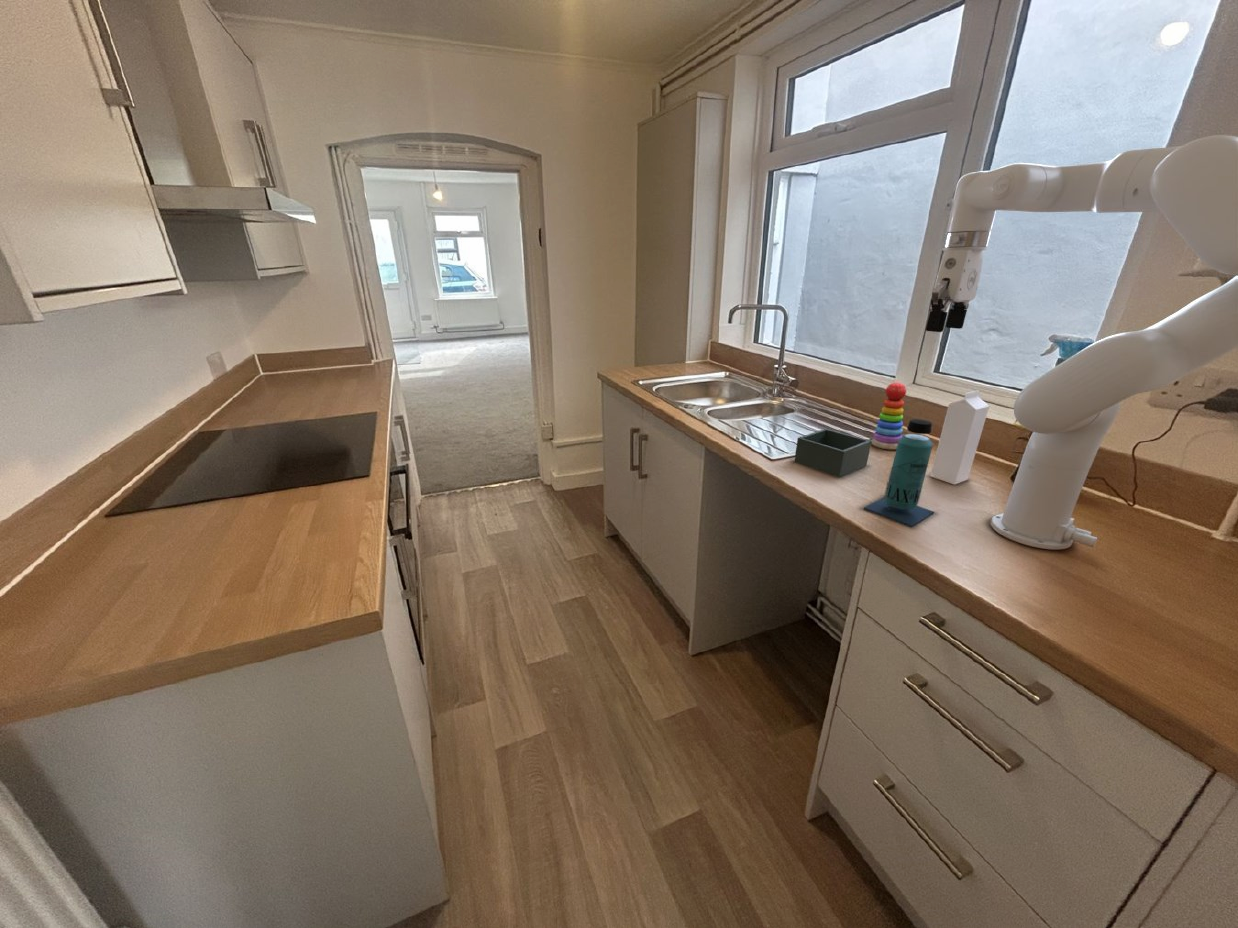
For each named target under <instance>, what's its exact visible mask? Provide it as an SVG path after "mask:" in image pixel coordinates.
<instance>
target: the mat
mask: <svg viewBox="0 0 1238 928" xmlns="http://www.w3.org/2000/svg"><path fill="white" fill-rule="evenodd" d="M884 498H885V496H883V497H881V498H879V499H877V500H875V501H873V502H872V503H870V504H868V505H866V506H864V508H863V509H864V510H865V511H868V512H871V513H873V514H876V515H879V516H881V517H883V518H886V519H888V520H891V521H894V522H897V523H899V524H902V525H904V526H907V527H910V528H913V527H915V526H916V525H918V524H919V523H921V522H922V521H924V520H926V519H927V518H928V517H930V516H932V515H933V514H935V511H934V510H930V509H927V508H924V507H921V506H919V505H917V506H916V508H914V509H912V510H903V509H898V508H894V507H892V506H889V505H888V504H886V503H885V499H884Z"/></svg>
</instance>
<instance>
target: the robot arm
mask: <svg viewBox="0 0 1238 928" xmlns="http://www.w3.org/2000/svg"><path fill="white" fill-rule="evenodd" d="M997 211H1003V212H1022V213H1023V212H1024V213H1072V212H1077V213H1079V212H1080V213H1081V212H1094V213H1097V214H1107V213H1109V214H1113V213H1158V212H1159V213H1162V215H1163V216H1164V218H1165V219H1166V220H1167V221H1168V223H1169V224H1170V226H1172V228H1173V229H1174V230H1175V231H1176V232H1177V233H1178V235H1179V236H1180V237H1181V238H1182V240H1184V242H1185V243H1186V244H1187V245H1188V247H1189V248H1190V249H1191V250H1192V251H1193V253H1194V254H1195V255H1196V256H1197V257H1198V259H1200V261H1201V262H1203V264H1204V265H1206V266H1207V267H1208V268H1210V269H1212V270H1214V271H1215V272H1217V273H1220V274H1223V275H1228V276H1234V277H1232V278H1231V279H1230V280H1228V281H1227V282H1226V283H1224V284H1222V285H1221V286H1219V287H1217V288H1215V289H1213V290H1211V291H1209V292H1207V293H1206V294H1204V295H1202V296H1200V297H1198V298H1196V299H1194V300H1193V301H1191V302H1189V303H1188V304H1187V305H1186V306H1184V307H1182V308H1181V309H1179V310H1178V311H1176V312H1174V313H1173V314H1171V315H1169V316H1167V317H1166V318H1164V319H1162V320H1160V321H1158V322H1157V323H1155V324H1153V325H1151V326H1148V327H1147V328H1143V329H1140V330H1134V331H1127V332H1125V331H1124V332H1120V333H1116V334H1113V335H1110V336H1109V335H1108V336H1106V337H1104V338H1102V339H1100V340H1097V341H1095V342H1093V343H1091V344H1090V345H1088V346H1086V347H1084V348H1083V349H1081V350H1080V351H1078V352H1076V353H1075V354H1073V355H1072V356H1070V357H1069V358H1067V359H1065V360H1064V361H1062V362H1061V363H1059V364H1057V365H1056V366H1054V367H1053V368H1051V369H1050V370H1048V371H1047V372H1045V373H1043V374H1041V375H1040V376H1039V377H1037V378H1036V379H1034V380H1032V381H1031V382H1030V383H1028V384H1027V385H1026V386H1024V388H1022V389H1021V391H1020V392H1019V394H1018V395H1017V396H1016V398H1015V401H1014V404H1013V414H1014V418H1015V420H1016V421H1017V423H1018V424H1019V425H1020V426H1022V427H1023V428H1024V429H1026V430H1027V431H1030V432H1032V433H1031V434H1030V438H1029V439H1028V442H1027V444H1026V447H1025V450H1024V452H1023V455H1022V458H1021V461H1020V464H1019V466H1018V470H1017V473H1016V476H1015V478H1014V481H1013V485H1012V487H1011V490H1010V493H1009V497H1008V499H1007V502H1006V506H1005V508H1004V511H1003V512H1002V513H998V514H995V515H994V516H992V518H991V520H990V526H991V528H992V529H993V530H994V531H996V533H998V534H999V535H1001V536H1003V537H1005V538H1007V539H1008V540H1010V541H1014V542H1016V543H1019V544H1022V545H1024V546H1028V547H1033V548H1036V549H1037V548H1038V549H1044V550H1053V551H1055V550H1056V551H1057V550H1065V549H1068V548H1070V547H1071V546H1072V545H1073V543H1074V542H1076V543H1079V544H1081V545H1085V546H1087V547H1090V548H1094V547H1095V545H1096V543H1097V541H1098V537H1096V536H1094V535H1092V533H1093V532H1092V531H1090V530H1086V529H1081V528H1078V527H1076V525H1074V521H1075V518H1073V517H1072V514H1073V512H1074V510H1075V508H1076V505H1077V502H1078V499H1079V497H1080V494H1081V492H1082V490H1083V486H1084V484H1085V482H1086V480H1087V477H1088V474H1089V472H1090V470H1091V468H1092V465H1093V463H1094V461H1095V458H1096V455H1097V453H1098V451H1099V449H1100V446H1101V444H1102V443H1103V441H1104V438H1105V437H1106V435H1107V433H1108V432H1109V430H1110V428H1111V427H1112V425H1113V423H1114V422H1115V420H1116V418H1117V416H1118V415H1119V411H1120V409H1121V405H1122V402H1123V401H1125V400H1127V399H1129V398H1131V397H1133V396H1136V395H1138V394H1144V393H1147V392H1148V393H1149V392H1153V391H1156V390H1157V391H1158V390H1160V389H1163V388H1166V387H1168V386H1170V385H1172V384H1174V383H1176V382H1178V381H1179V380H1181V379H1183V378H1184V377H1186V376H1188V375H1190V374H1192V373H1193V372H1195V371H1197V370H1199V369H1202V368H1203V367H1205V366H1207V365H1209V364H1211V363H1213V362H1214V361H1217V360H1218V359H1220V358H1222V357H1224V356H1226V355H1228V354H1229V353H1232V352H1233V351H1235V350H1237V349H1238V136H1236V135H1235V136H1234V135H1230V134H1229V135H1228V134H1216V135H1214V134H1213V135H1207V136H1204V137H1200V138H1197V139H1193V140H1192V141H1189V142H1187V143H1185V144H1183V145H1178V146H1177V145H1176V146H1166V147H1154V148H1143V149H1133V150H1132V149H1131V150H1126V151H1123V152H1121V153H1119V154H1117V155H1116V156H1115V157H1114V158H1112V159H1111V160H1106V161H1101V162H1094V163H1085V164H1074V165H1046V164H1039V163H1029V162H1015V163H1010V164H1006V165H1004V166H1001V167H998V168H995V169H992V170H982V171H974V172H969V173H965V174H964V175H962V176H961V177H960V178H959V179H958V181H957V184H956V187H955V191H954V196H953V201H952V205H951V210H950V214H949V217H948V223H947V226H946V230H945V235H944V240H943V243H942V248H941V251H942V252H944V253H943V256H942V258H941V261H940V265H939V269H938V271H937V274H936V275H937V276H936V279H935V283H934V287H933V289H932V291H931V300H930V307H929V314H928V318H927V322H926V327H925V331H926V332H933V333H943V332H944V330H945V328H947V329H957V330H961V329H963V327H964V323H965V320H966V316H967V313H968V309H969V307H970V304H969V302H971V301H973V300H974V299H975V298H976V296H977V292H978V287H979V281H980V277H981V272H982V266H983V260H984V251H987V248H988V244H989V240H990V236H991V232H992V228H993V224H994V221H995V217H996V213H997ZM950 305H951V308H949V307H950ZM948 308H949V311H947V310H948Z"/></svg>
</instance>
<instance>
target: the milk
mask: <svg viewBox="0 0 1238 928" xmlns="http://www.w3.org/2000/svg"><path fill="white" fill-rule="evenodd" d="M979 394H980V390H979V389H976V390H973V391H969V392H965V394H964V397H963V399H961V400H960V399H959V400H957V401H953V402H949V403H948V406H947V409H946V414H945V417H944V421H943V425H942V429H941V433H940V436H939V439H938V440H939V441H938V444H937V448H936V452H935V455H934V459H933V463H932V467H931V470H930V474H929V477H931V478H934V479H937V480H939V481H943V482H946V483H948V484H951V485H957V484H961V483H963V482H965V481H968V479H969V478H970V473H971V470H972V467H973V464H974V460H975V456H976V453H977V450H978V447H979V444H980V441H981V440H980V439H981V436H982V433H983V430H984V426H985V423H986V419H987V417H988V413H989V409H990V405H989V404H988V403H987V402H985V400H983V399H982V398H981V397H980V396H979Z"/></svg>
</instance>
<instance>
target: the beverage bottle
mask: <svg viewBox="0 0 1238 928" xmlns="http://www.w3.org/2000/svg"><path fill="white" fill-rule="evenodd" d="M932 426H933V422H931V421H930V420H926V419H922V418H921V419H920V418H912V419H910V420H909V422H908V426H907V428H906V430H907V431H908V432H911V433H908V434H905V435H902V436H903V437H901V438H899V440H898V445H897V449H895V454H894V458H893V462H892V466H891V468H890V472H889V476H888V481H886V482H887V483H886V487H885V492H884V497H885V498H884V499H885V503H886V504H888V505H889V506H892V507H894V508H898V509H903V510H912V509H914V508H916V506H918V505H919V501H920V499H921V495H922V490H923V485H924V481H925V478H926V474H927V471H928V468H929V461H930V457H931V455H932V451H933V448H934V443H933V441H931V439H930V438H929V437H927V436H926V435H929V434H931V433H932Z"/></svg>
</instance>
